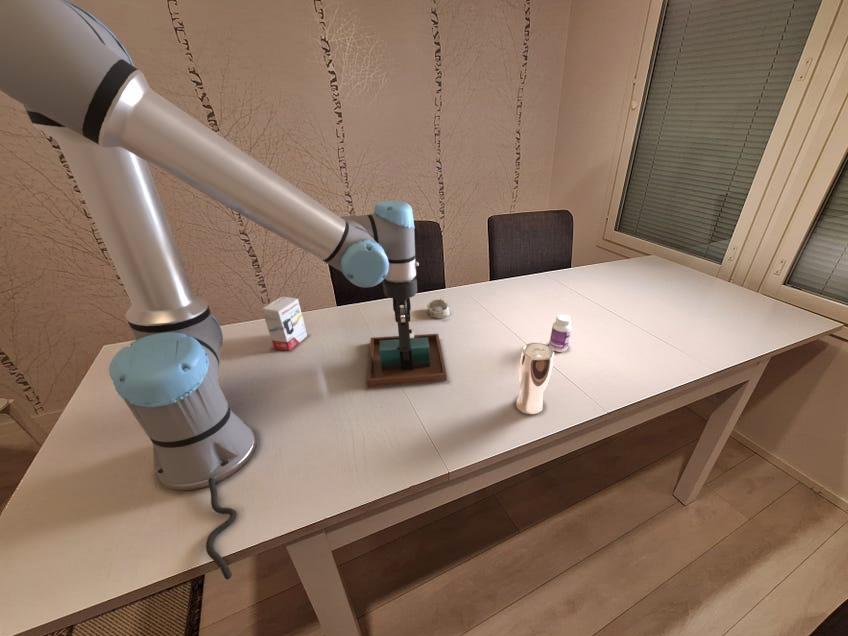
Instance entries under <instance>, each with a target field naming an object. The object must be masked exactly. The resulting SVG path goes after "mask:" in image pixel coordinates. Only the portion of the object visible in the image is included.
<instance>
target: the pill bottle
mask: <svg viewBox="0 0 848 636" xmlns="http://www.w3.org/2000/svg"><path fill="white" fill-rule="evenodd" d="M571 322H572V317H571V316H570V315H567V314H557V316H556V318H555V322H553V324H552V326H551V332H550V337H549V343H548V346H549V347H551V348H552V349H553V351H554V352H557V353H558V352H559V353H562V352H566V351H567V350H568V348H569V344H570V339H571V335H572V334H571V333H572V329H573V327H572V324H571Z"/></svg>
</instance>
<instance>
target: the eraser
mask: <svg viewBox="0 0 848 636" xmlns="http://www.w3.org/2000/svg"><path fill="white" fill-rule="evenodd" d="M410 345H411V356H412V368H422V367H430V350H429V342H428V337H426V338H411V339H410ZM399 346H400V343H399V339H395V340H380V348H379V352H380V359H381V367H382V371H385V370H397V369H401V359H400V350H397V347H399Z"/></svg>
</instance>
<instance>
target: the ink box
mask: <svg viewBox="0 0 848 636" xmlns="http://www.w3.org/2000/svg"><path fill="white" fill-rule="evenodd" d="M299 301H300V300H299V299H298V298H297V297H296V298H295V297H289V296H280V297H278V298H276V299H275V300H273V301H272V302H270V303H268V304H267V305H265V306H263V307H262V309H261V311H262V314H263V318H264V321H265V324H266V327H267V330H268V333H269V337H270V339H271V343H272V346H273V349H275V350H281V351H288V352H290V351H292V349H294V348H295V347H296V346H297V345H299V344H300V343H301V342H302V341H303V340H304V339H306V338H307V337H308V333H307V329H306V325H305V321H304V317H303V313H302V310H301V309H302V308H301V306H300V302H299Z"/></svg>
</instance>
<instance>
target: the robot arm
mask: <svg viewBox="0 0 848 636" xmlns="http://www.w3.org/2000/svg"><path fill="white" fill-rule="evenodd" d="M0 91H1V92H2V93H4V94H5V95H7V96H8V97H9V98H11V99H13V100H15V101H17V102H18V103H20V104H22V106H23V107H24V109H25V111H26V114H27V116H28V118H29V120H30V122H31V123H32V125H33V127H35V128H36V129H38V130H40V131H42V132H43V133H45V134H46V135H48V136H49V137H51V138H52V139H53V140H54V141H56V143H57V144H58V147H59V148H60V150H61V152H62V155H63V157H64V159H65V161H66V163H67V166H68V167H69V170H70V172H71V174H72V176H73V179H74V181H75V184H76V185H77V187H78V189H79V191H80V195H81V197H82V198H83V200H84V203H85V205H86V207H87V209H88V212H89V213H90V215H91V218H92V220H93V222H94V225H95V226H96V229H97V230H98V233H99V236H100V237H101V240H102V242H103V244H104V247H105V249H106V250H107V253H108V255H109V257H110V259H111V261H112V263H113V265H114V268H115V270H116V272H117V274H118V276H119V278H120V281H121V283H122V285H123V288H124V289H125V291H126V294H127V296H128V298H129V300H130V303H131V306H130V307H129V308H128V309H127V311H126V312H125V314H124V316H125V319H126V321H127V323H128V325H129V327H130V330H131V331H132V333H133V336H134V338H135V340H133V341H132V342H130V346H124V347H122V348H121V349H120V350H119V351H117V353H115V355H114V356H113V357H112V359H111V361H110V363H109V367H108V368H109V369H108V372H109V376H110V379H111V380H112V383H113V386H114V388H115V391H116V393H117V394H118V395H119V396H120V397H121V399H122V400H123V401H124V403H125V404H126V405H127V407H128V409H129V410H130V411H131V413H132V414H133V416H134V417H135V419H136V420H137V422H138V424H139V425H140V426H141V428H142V429H143V431H144V432H145V434H146V436H148V438H149V440H150V441H151V443H152V453H153V467H154V471H155V474H156V477H157V478H158V479H159V481H160V482H161V483H162V484H163V486H165V487H167V488H169V489H172V490H176V491H194V490H200V489H203V488H207V487H209V491H210V505H211V508H212V510H213V511H214V512H215V513H218V514H224V515H229V517H228V518H227V519H226V520H225V521H224V522H223V523H221V524H220V525H219V526H218V527H216V528H215V529H214V530H213V531H211V533H209V535H208V536H207V539H206V543H205V550H206V554H207V556H209V558H210V559H211V560H212V561H213V562H214V563H215V564H216V565H217V566H218V567H219V569H220V571H221V573H222V575H223V577H224V579H225V580H230V579H231V578H232V576H233V575H232V574H233V573H232V571H231V569H230V567H229V565H228V563H227V562H226V560H225V559H224V558H223V557H222V556H221V555H220V554H219V553H218V552H217V550H215V548H214V541H215V538H216V536H218V535H219V534H220V533H221V532H222V531H224V530H226V528H228V527H230V525H232V524H233V522H234V521H235V520H236V518H237V511H236V510H235V509H234V508H230V507H221V506H220V505H219V503H218V490H217V485H216V484H218V483H220V482H222V481H225V480H226V479H228V478H229V477H231V476H233V475H234V474H235V473H237V472H238V471H240V470H241V469H242V468H243V467H244V466H245V465H246V464H247V463H248V462H249V460H250V459H251V458H252V457H253V455H254V453H255V452H256V451H255V450H256V448H257V447H256V446H257V439H256V436H255V434H254V432H253V430H252V428H251V427H250V426H249V425H248V424H247V423H245V422H244V421H243V420H242V419H241V418H240V417H239V416H238V415H236V414H235V413H234V412H233V411H232V410H231V407H230V406H229V403H228V401H227V398H226V396H225V394H224V392H223V390H222V388H221V385H220V382H219V372H220V371H219V369H220V359H221V350H222V348H223V340H224V337H223V336H224V335H223V330H222V327H221V325H220V323H219V320H217V318H216V317H215V316H214V315H213V313H212V312H211V310H210V307H209V304H208V301H207V300H206V299H204V298H203V297H200V296H199V295H196V294H195V293H194V290H193V288H192V285H191V282H190V279H189V277H188V274H187V271H186V268H185V265H184V262H183V259H182V257H181V254H180V251H179V248H178V245H177V243H176V239H175V237H174V234H173V231H172V228H171V226H170V223H169V220H168V217H167V215H166V212H165V209H164V205H163V203H162V200H161V198H160V195H159V192H158V189H157V186H156V183H155V181H154V178H153V175H152V173H151V170H150V167H149V164H150V165H153V166H154V167H156V168H158V169H159V170H161V171H163V172H165V173H166V174H168V175H170V176H172V177H174V178H175V179H177V180H178V181H180V182H182V183H184V184H185V185H188V186H190V187H191V188H193V189H195V190H196V191H199V192H200V193H202V194H203V195H205V196H207V197H209V198H211V199H213V200H215V201H216V202H218V203H219V204H221V205H223V206H225V207H227V208H229V209H230V210H232V211H234V212H236V213H237V214H239V215H241V216H243V217H245V218H246V219H248V220H250V221H251V222H253V223H255V224H257V225H258V226H260V227H262V228H264V229H266V230H268V231H269V232H271V233H273V234H275V235H276V236H278V237H280V238H282V239H283V240H285V241H286V242H288V243H291V244H293V245H294V246H296V247H297V248H300V249H301V250H303V251H305V252H307V253H308V254H310V255H311V256H314V257H316V258H317V259H319V260H321V261H322V262H324V263H326V264H327V265H329V266H330V267H332V268H334V269H335V270H337V271H339V272H340V273H342V275H343V276H344V277H345V279H346V280H348V281H349V282H350V283H351V284H353V285H354V286H357V287H359V288H373V287H376V286H377V285H379V284H381V283H382V289H383V294H384V295H385V297H387V298H390V299H392V310H393V311H394V319H395V322H396V323H397V332H398V336H399V343H400V346H399V347H397V350H400V359H401V370H410V369H412V356H411V345H410V334H409V333H412V331H413V330H412V329H410V322H411V311H412V308H411V307H412V305H411V298H413V297H414V296H416V295H417V293H418V279H417V267H418V266H420V265H419V261H416V240H415V237H416V236H415V228H416V226H415V222H414V221H415V220H414V214H413V208H412V206H411V205H410V204H409V203H408V202H405V201H401V200H384V201H378V202H376V203H375V205H374V210H373V213H370V214H363V215H360V214H359V215H346V216H345V215H344V216H339V215H338V214H337V213H335V212H333V211H332V210H330V209H329V208H327V207H326V206H325V205H323V204H321V203H320V202H318V201H317V200H316V199H314V198H312V197H311V196H310V195H308V194H307V193H305V192H304V191H302V190H301V189H299V188H298V187H296V186H295V185H294V184H292V183H291V182H289V181H287V180H286V179H284V178H283V177H282V176H281V175H279V174H277V173H276V172H275V171H273V170H271V169H270V168H268V167H266V165H264V164H262V163H261V162H260V161H258V160H256V159H255V158H254V157H252V156H250V155H249V154H247V153H246V152H245V151H243V150H241V149H240V148H239V147H237V146H236V145H234V144H233V143H231V142H230V141H228V140H227V139H225V138H224V137H222V136H221V135H220V134H218V133H216V132H215V131H213V129H210V128H209V127H208V126H206V125H204V124H203V123H202V122H200V121H198V119H195V118H194V117H192V116H191V115H190V114H188V113H187V112H185V111H184V110H182V109H181V108H180V107H179V106H176V105H175V104H173V103H172V102H170V101H169V100H167V98H165V97H163V96H162V95H161V94H159V93H157V92H156V91H154V90H153V89H152V87H150V85H149V83H148V81H147V79H146V77H145V74H144V72H142V71H141V70H140V69H139V68H137V67H135V65H134V62H133V60H132V58H131V56H130V55H129V52H127V50H126V49H125V47H124V46H123V44H122V43H121V42H120V40H119V39H118V38H117V37H116V35H115V34H114V33H113V32H112V31H111V30H109V28H108V27H107V26H106V25H105V24H103V23H102V22H101V21H100V20H99V19H98V18H96V16H93V15H92V14H91V13H90V12H88V10H87V11H86V10H85V9H84V8H82V7H80V6H78V5H76V4H75V3H73V2H71V1H69V0H0ZM148 163H149V164H148ZM225 565H227V566H225ZM220 567H221V568H220Z"/></svg>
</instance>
